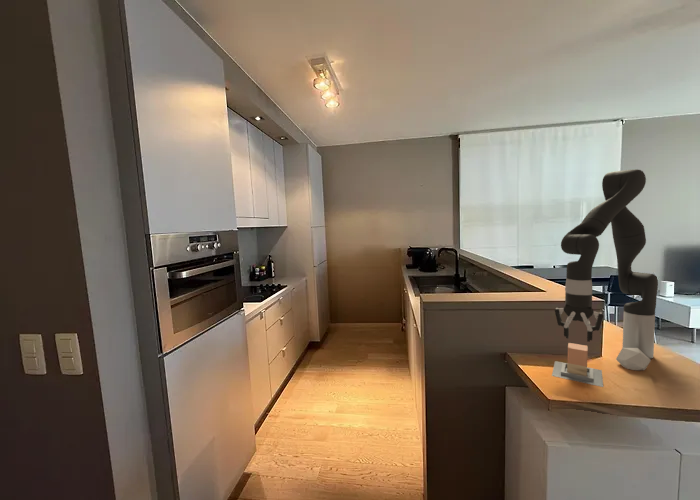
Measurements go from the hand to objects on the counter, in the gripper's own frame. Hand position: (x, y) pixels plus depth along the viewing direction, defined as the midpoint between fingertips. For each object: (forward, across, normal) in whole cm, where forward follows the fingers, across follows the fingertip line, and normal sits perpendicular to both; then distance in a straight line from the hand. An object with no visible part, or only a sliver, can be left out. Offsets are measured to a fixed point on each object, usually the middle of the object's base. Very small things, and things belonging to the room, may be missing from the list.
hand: (577, 339), depth 109 cm
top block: (+8, 0, 0) cm, 8 cm away
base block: (+12, 0, 0) cm, 12 cm away
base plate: (+13, 0, 0) cm, 13 cm away
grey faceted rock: (+14, -16, -16) cm, 26 cm away
